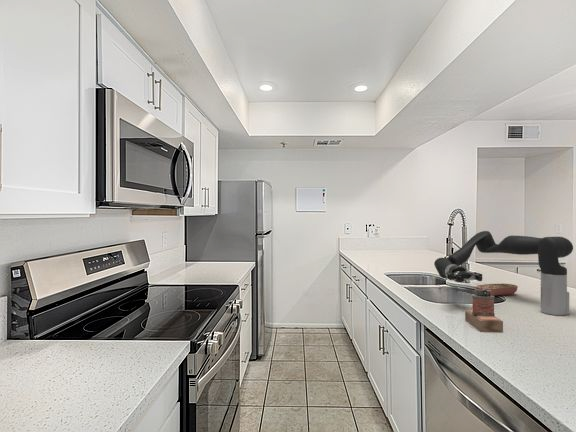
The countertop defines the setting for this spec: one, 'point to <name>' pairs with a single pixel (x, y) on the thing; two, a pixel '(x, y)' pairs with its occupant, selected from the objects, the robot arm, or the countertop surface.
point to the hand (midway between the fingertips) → (470, 279)
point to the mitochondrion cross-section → (499, 289)
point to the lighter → (483, 303)
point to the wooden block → (484, 322)
